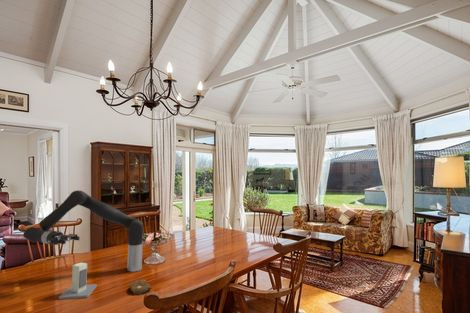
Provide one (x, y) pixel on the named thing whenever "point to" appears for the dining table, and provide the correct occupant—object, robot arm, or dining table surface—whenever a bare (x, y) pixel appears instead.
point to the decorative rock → (140, 287)
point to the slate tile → (83, 294)
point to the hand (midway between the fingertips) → (72, 240)
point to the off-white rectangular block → (79, 277)
